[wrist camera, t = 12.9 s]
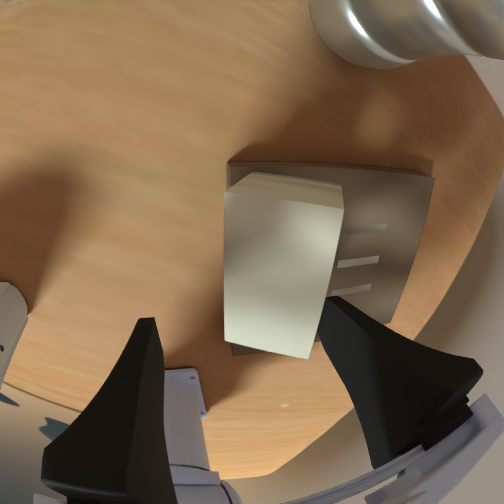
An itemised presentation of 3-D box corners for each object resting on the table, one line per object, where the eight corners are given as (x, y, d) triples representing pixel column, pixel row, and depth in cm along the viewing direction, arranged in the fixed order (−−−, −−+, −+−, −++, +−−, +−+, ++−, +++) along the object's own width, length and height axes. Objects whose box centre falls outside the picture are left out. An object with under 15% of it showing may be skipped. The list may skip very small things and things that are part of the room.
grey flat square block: (382, 312, 25) (390, 322, 23) (229, 342, 21) (233, 356, 20) (421, 171, 18) (434, 177, 17) (226, 161, 15) (230, 167, 13)
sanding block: (315, 311, 17) (308, 359, 13) (246, 297, 18) (224, 340, 14) (341, 184, 13) (344, 209, 9) (252, 171, 14) (224, 191, 10)
